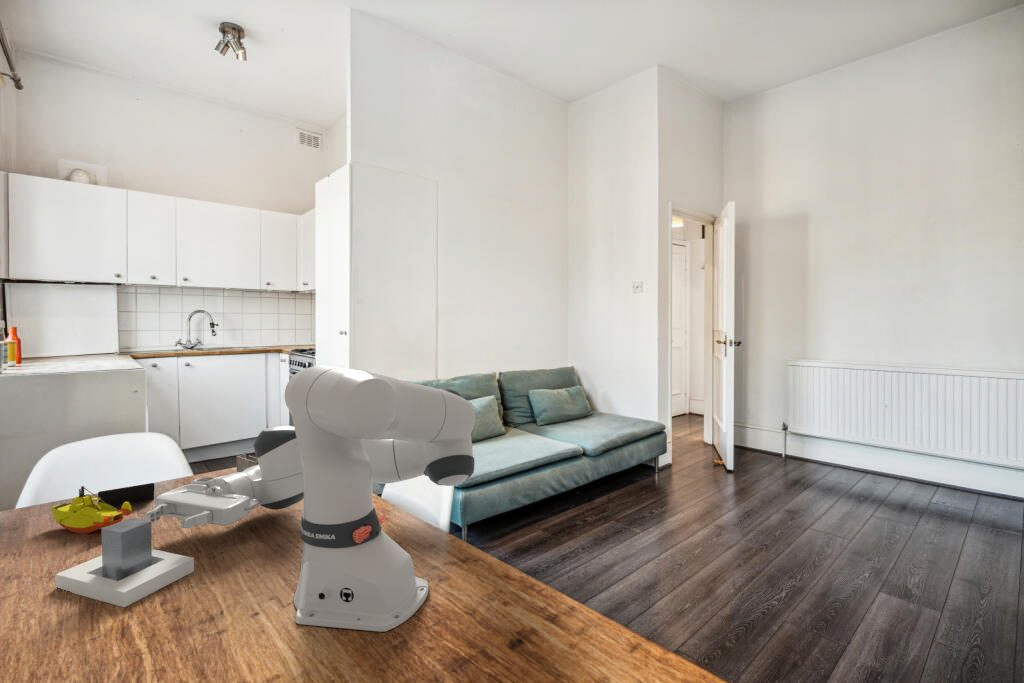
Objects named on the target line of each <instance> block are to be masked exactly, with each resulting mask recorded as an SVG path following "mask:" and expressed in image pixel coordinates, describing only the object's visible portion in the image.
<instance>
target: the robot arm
mask: <svg viewBox="0 0 1024 683" xmlns="http://www.w3.org/2000/svg"><path fill="white" fill-rule="evenodd" d="M284 402H285V404H286V407H287V408H288V411H289V413H290V415H291V418H292V423H293V425H286V424H285V425H284V424H283V425H282V424H281V425H274V426H270V427H267V428H266V429H263V430H261V432H260V433H259V434H258V436H257V437H256V438H255V440H254V442H253V444H252V445H253V450H254V452H255V457H256V458H258V463H259V465H255V466H252V467H249V468H247V469H246V470H244V471H243V472H237V471H236V472H233V473H229V474H226V475H221V476H217V477H201V478H196V479H193V480H192V481H191V484H190V483H189V484H185V485H181V486H179V487H178V486H177V487H176V488H173V489H171V490H168V491H165V492H163V493H161V494H159V495H157V496H156V498H154V509H152V510H149V511H147V512H145V514H144V516H145V517H144V520H146V521H151V523H153V522H155V521H159V520H160V518H161V517H162V516H164V517H165V516H167V517H172V518H178V519H181V520H180V527H181V528H184V529H187V530H188V529H191V528H192V527H193V528H194V527H195V526H201V525H202V526H203V525H207V524H210V525H211V524H212V525H216V526H221V527H226V526H230V525H233V524H235V523H237V522H238V521H240V520H242V519H243V518H245V517H247V516H248V515H249V514H250V513H251V510H254V509H255V508H257V507H259V506H261V507H262V508H265V509H269V510H272V511H273V510H274V511H276V510H284V509H286V508H288V507H291V506H293V505H295V504H297V503H299V502H301V501H303V513H302V514H301V517H300V518H301V520H300V523H301V524H300V538H301V540H302V541H303V542H302V543H303V545H302V546H303V547H302V556H301V566H300V571H299V572H300V573H299V578H298V582H297V587H296V591H295V594H294V596H293V604H294V606H295V608H296V616H295V622H296V624H298V625H307V626H319V627H325V628H326V627H327V628H339V629H347V630H348V629H349V630H360V631H371V632H379V633H380V632H381V633H382V632H388V631H390V630H393V629H395V628H397V627H398V626H400V625H402V624H403V623H404V622H406V621H407V620H409V619H410V618H411V617H412V616H414V614H415V613H416V612H417V611H418V610H419V608H420V607H421V606H422V605H423V604H424V602H425V601H426V599H427V597H428V595H429V590H430V588H429V583H428V581H427V579H424V578H421V577H418V576H417V575H416V572H415V566H414V561H413V558H412V556H411V554H410V553H408V552H407V551H406V550H404V548H402V547H401V546H400V545H399V544H398V543H397V542H396V541H394V539H392V538H391V537H390V536H389V535H388V534H386V532H384V531H383V530H382V525H381V524H382V523H384V522H386V521H387V518H385V517H386V516H387V514H386V513H385V514H382V515H381V516H380V517H378V514H377V511H376V509H375V507H374V505H373V483H376V484H380V485H381V484H382V485H384V484H385V485H386V484H393V483H399V482H403V481H404V482H405V481H408V480H412V479H414V478H418V477H421V476H425V477H427V478H429V480H430V481H431V482H432V483H434V484H435V485H436V486H437V485H438V486H445V487H450V486H452V487H453V486H457V485H459V484H462V483H464V482H466V481H467V480H470V478H471V477H472V475H473V474H474V472H475V457H474V453H473V442H472V440H473V439H472V434H471V433H472V432H473V429H474V427H475V424H476V412H475V409H474V407H473V405H472V404H471V403H470V402H469V401H468V400H467V399H465V398H464V397H462V394H460V393H459V392H458V391H456V390H455V389H453V388H446V387H445V388H437V387H432V386H428V385H423V384H419V383H415V382H410V381H404V380H402V379H398V378H394V377H389V376H386V375H382V374H378V373H374V372H371V371H370V372H369V371H365V370H358V369H353V368H346V367H338V366H333V365H326V364H319V365H313V366H309V367H307V368H304V369H302V370H300V371H297V372H296V373H295V374H293V375H292V376H291V378H290V379H289V380H288V381H287V383H286V385H285V388H284Z"/></svg>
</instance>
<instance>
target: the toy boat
mask: <svg viewBox="0 0 1024 683" xmlns="http://www.w3.org/2000/svg"><path fill="white" fill-rule="evenodd" d="M85 491H88V492H89V493H90V494H92V495H93V496H94V497H93V498H92V496H91V495H90V494H89V493H87V494H85ZM98 500H101V499H100V498H98V495H96V494H94V493H92V492H91V491H90V490H88V489H87V488H86V487H85V486H84V485H83V486H81V487H80V488H79V489H78V496H76V497H74V498H73V499H72V502H69V503H66V502H65V503H61V504H57V505H53V506H52V507H51V512H52V517H53V519H54V520H55V522H56V523H57V524H58V525H59V526H61V527H62V528H64V529H66V530H68V531H70V532H71V533H72V532H73V533H77V534H88V533H92V532H95V531H98V530H100V529H102V528H105V527H107V526H110V525H113V524H116V523H118V522H121V521H123V520H124V516H129V515H131V514H133V510H132V508H133V507H132V505H131V504H129V502H124V503H123V505H122V506H121V509H119V510H118V508H116V507H112V506H111V505H108V504H107V503H105V502H104V501H103V500H101V501H103V502H104V503H101V502H98ZM94 502H97V503H94Z"/></svg>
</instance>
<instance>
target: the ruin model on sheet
mask: <svg viewBox="0 0 1024 683" xmlns="http://www.w3.org/2000/svg"><path fill="white" fill-rule="evenodd" d="M247 458H248V459H247ZM235 460H236V463H235V464H236V472H243V471H244V470H246V469H247V468H249V467H252V466H255V465H259V463H258V458H257V457H256V456H251V455H248V457H247V454H246V453H245V454H240V455H236V459H235Z"/></svg>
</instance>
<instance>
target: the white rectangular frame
mask: <svg viewBox="0 0 1024 683" xmlns="http://www.w3.org/2000/svg"><path fill="white" fill-rule="evenodd" d="M194 572H195V558H194V557H191V556H187V555H182V554H177V553H174V552H168V551H164V550H158V549H156V548H154V549H153V548H152V566H150V567H147V568H145V569H143V570H141V571H139V572H137V573H135V574H133V575H130V576H128V577H126V578H124V579H122V580H120V581H116V580H112V579H108V578H104V577H103V569H102V554H101V555H99V556H97V557H94V558H92V559H90V560H88V561H85V562H82V563H80V564H76V565H75V566H72V567H70V568H68V569H65V570H63V571H59V572H57V573H55V588H56V587H58V588H61V589H64V590H66V591H65V592H67V591H70V592H69V593H71V592H72V594H75V595H79V596H82V597H86V598H89V599H93V600H96V601H100V602H103V603H108V604H111V605H114V606H118V607H121V608H126V607H128V606H130V605H132V604H134V603H135V602H138V601H140V600H142V599H144V598H145V597H147V596H149V595H151V594H153V593H155V592H157V591H159V590H160V589H162V588H164V587H167V586H168V585H170V584H172V583H174V582H176V581H178V580H179V579H182V578H183V577H186V576H187V575H189V574H191V573H194ZM64 590H63V591H64Z"/></svg>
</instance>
